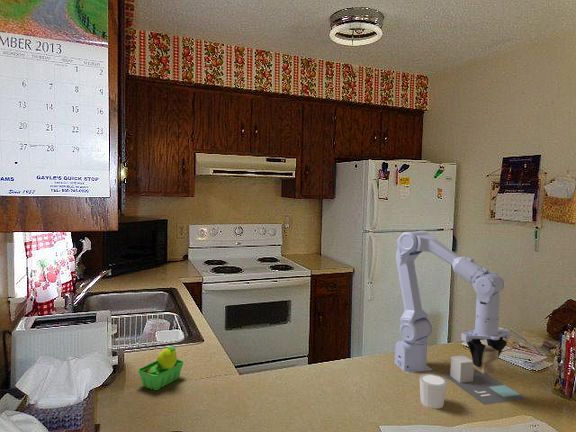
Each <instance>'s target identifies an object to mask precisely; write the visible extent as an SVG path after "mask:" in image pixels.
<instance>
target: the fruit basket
mask: <svg viewBox="0 0 576 432" xmlns="http://www.w3.org/2000/svg"><path fill="white" fill-rule="evenodd" d="M176 351H177V350H176V347H174V346H172V345H169V346H167V347H166V348H165V349H163V350H162V351H160V352H159V353H158V355H157V356H156V360H155V361H153V362H151V363H149V364H147V365H144V366H142V367H140V368H138V369H137V372H138V374H139V376H140V380H141V383H142V386H143V387H144V388H147V389H149V388H150V389H149V390H152V389H154V391H155V390H157V391H159V390H160V389H162V388H164V387H165V385H166V386H167V385H169V384H170V383H172V382H174V381H176V380H178V379H179V378H180V374H181V371H182V367H183V365H184V363H185V361H184V360H181V359H178V358H177V357H178V356H177V352H176ZM161 387H162V388H161Z"/></svg>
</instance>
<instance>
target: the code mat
mask: <svg viewBox="0 0 576 432" xmlns="http://www.w3.org/2000/svg"><path fill="white" fill-rule="evenodd" d="M441 375H442V376H444V377H445V378H446V379H448V380H449V381H451V382H452V383H453V384H455V385H456V386H458V387H459V388H461V390H463V391H464V392H466V393H467V394H469V395H470V396H471V397H473V398H474V399H476V401H479V402H480V403H481V404H483V405H484V406H486V405H492V404H501V403H507V402H514V401H521V400H527V399H528V398H527V397H525V396H524V395H522V394H521V393H519V392H517V391H516V390H514V389H512V388H510V387H509V386H507V385H506V384H504V383H503V382H501V381H499V380H498V379H496V378H495V377H494V376H491V375H490V374H489V373H486V374H483V373H482V372H480V371H478V370H477V369H474V372H473V381H471V382H463V383H460V382H458V381H457V380H455V379H454V378H453V377H451V376H450V372H448V373H447V372H446V373H441Z"/></svg>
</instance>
